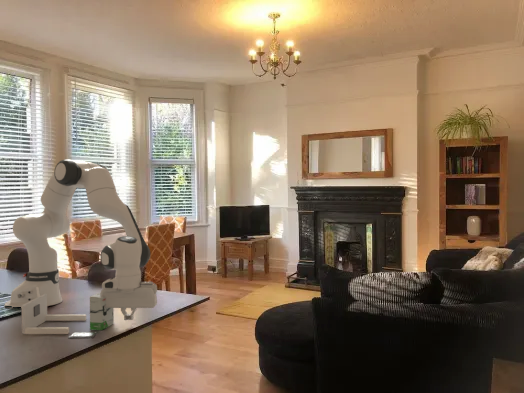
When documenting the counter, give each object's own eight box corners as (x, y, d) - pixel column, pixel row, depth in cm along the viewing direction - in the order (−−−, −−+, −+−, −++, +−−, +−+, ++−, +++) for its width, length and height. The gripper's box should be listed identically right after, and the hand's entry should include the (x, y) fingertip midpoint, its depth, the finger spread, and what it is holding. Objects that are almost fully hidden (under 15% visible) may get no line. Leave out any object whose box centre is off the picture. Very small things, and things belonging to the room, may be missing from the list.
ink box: (101, 330, 162) (101, 297, 161) (89, 330, 163) (88, 296, 162) (114, 323, 170) (113, 291, 170) (102, 322, 171) (101, 291, 171)
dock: (22, 334, 159) (21, 305, 159) (44, 319, 175) (44, 293, 175) (68, 333, 159) (67, 305, 158) (86, 319, 175) (85, 293, 174)
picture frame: (68, 340, 154) (68, 336, 154) (73, 335, 159) (73, 332, 159) (92, 339, 155) (92, 336, 155) (96, 335, 159) (96, 332, 159)
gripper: (158, 279, 169) (159, 316, 169) (103, 279, 169) (104, 316, 170) (154, 283, 163) (155, 322, 163) (97, 283, 163) (98, 322, 163)
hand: (128, 319), depth 166 cm, fingers closed
